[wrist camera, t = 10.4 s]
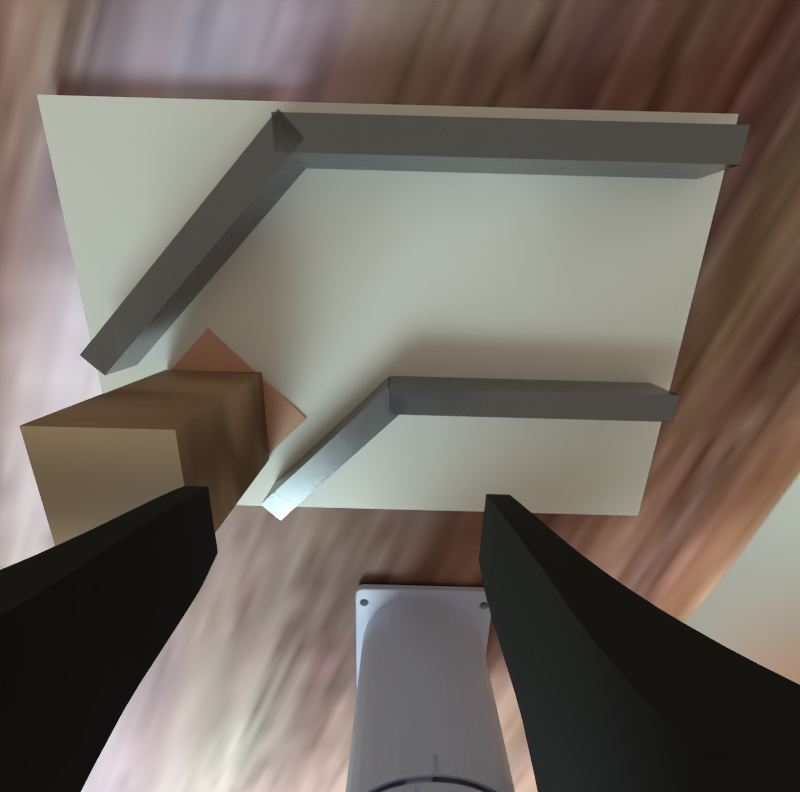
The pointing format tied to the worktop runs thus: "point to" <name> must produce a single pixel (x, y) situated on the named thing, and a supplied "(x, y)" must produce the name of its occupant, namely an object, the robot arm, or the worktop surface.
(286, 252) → the channel board
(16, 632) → the robot arm
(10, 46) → the worktop surface
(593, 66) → the worktop surface
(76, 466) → the walnut block
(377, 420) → the rails
